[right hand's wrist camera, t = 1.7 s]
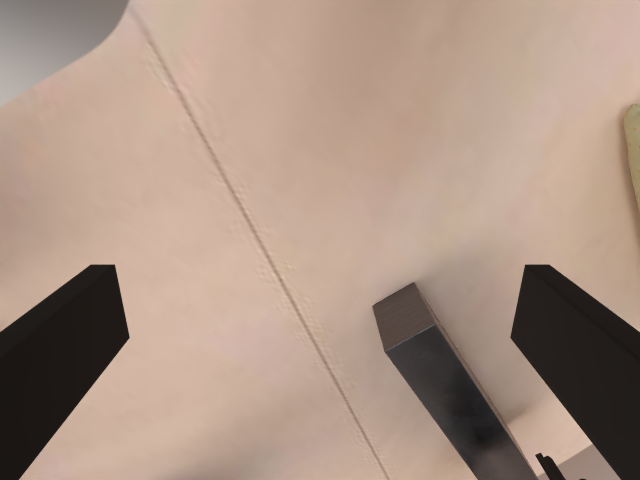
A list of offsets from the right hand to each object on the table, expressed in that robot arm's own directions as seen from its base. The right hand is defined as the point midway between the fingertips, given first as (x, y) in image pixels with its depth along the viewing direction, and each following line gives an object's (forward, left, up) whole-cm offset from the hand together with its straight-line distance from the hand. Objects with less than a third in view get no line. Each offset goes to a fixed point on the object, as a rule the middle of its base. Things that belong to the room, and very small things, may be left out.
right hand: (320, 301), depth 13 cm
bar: (+1, +31, -30) cm, 43 cm away
